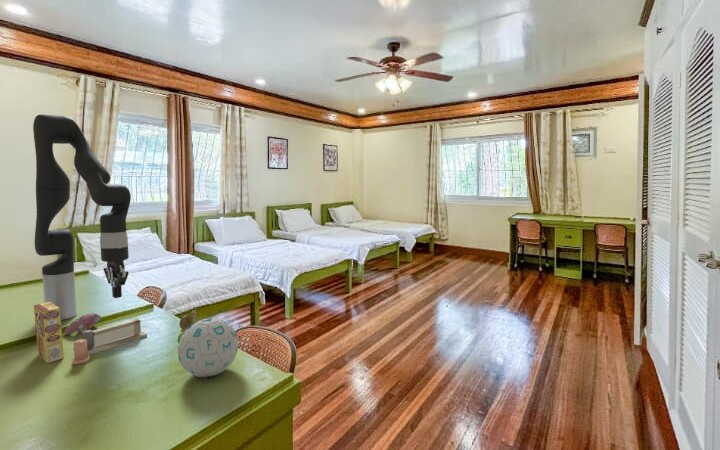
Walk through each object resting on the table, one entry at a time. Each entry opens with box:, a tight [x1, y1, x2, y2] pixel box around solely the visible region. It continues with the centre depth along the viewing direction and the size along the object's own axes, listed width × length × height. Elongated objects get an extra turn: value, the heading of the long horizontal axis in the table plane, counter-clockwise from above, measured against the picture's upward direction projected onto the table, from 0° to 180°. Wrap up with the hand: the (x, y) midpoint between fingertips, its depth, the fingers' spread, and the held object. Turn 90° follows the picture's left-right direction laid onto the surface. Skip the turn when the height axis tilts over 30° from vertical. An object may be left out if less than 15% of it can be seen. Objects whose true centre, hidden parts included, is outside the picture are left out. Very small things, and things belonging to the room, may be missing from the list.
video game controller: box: [63, 312, 101, 336], centre depth 127 cm, size 10×5×7 cm, turn 169°
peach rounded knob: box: [72, 339, 91, 366], centre depth 105 cm, size 4×4×6 cm
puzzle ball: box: [177, 317, 239, 378], centre depth 99 cm, size 15×15×15 cm
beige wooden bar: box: [81, 318, 142, 350], centre depth 116 cm, size 16×3×5 cm, turn 146°
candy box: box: [33, 302, 65, 364], centre depth 107 cm, size 9×4×15 cm, turn 54°
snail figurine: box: [177, 306, 197, 345], centre depth 116 cm, size 5×6×12 cm
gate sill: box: [87, 330, 148, 356], centre depth 117 cm, size 4×18×1 cm, turn 146°
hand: (117, 297), depth 122 cm, fingers closed
